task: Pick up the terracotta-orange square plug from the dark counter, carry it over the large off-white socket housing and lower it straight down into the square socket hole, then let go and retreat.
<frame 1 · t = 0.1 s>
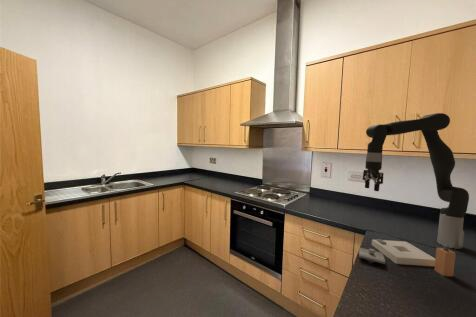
hand: (371, 189, 114), 29 cm above the countertop, fingers open, 8 cm apart
light switch: (370, 260, 94), on the countertop
socket: (401, 254, 100), on the countertop
plug: (443, 273, 86), on the countertop
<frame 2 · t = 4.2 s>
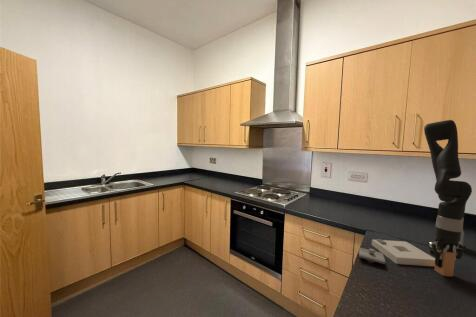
hand: (444, 266, 86), 3 cm above the countertop, fingers closed on plug, 4 cm apart
plug: (443, 273, 86), on the countertop, touching gripper
everything else where it was.
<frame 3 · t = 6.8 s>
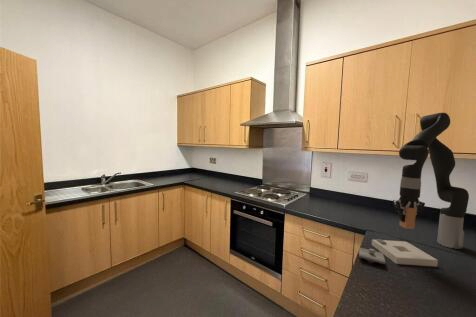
hand: (406, 221, 98), 17 cm above the countertop, fingers closed on plug, 4 cm apart
plug: (406, 227, 98), point 14 cm above the countertop, touching gripper
everything else where it was.
when the fingers open (4 cm above the countertop, at t = 9.8 s): plug stays where it is, resting in socket.
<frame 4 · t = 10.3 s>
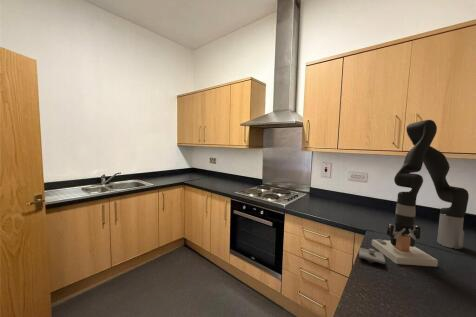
hand: (402, 245, 100), 5 cm above the countertop, fingers open, 8 cm apart
plug: (401, 254, 100), resting in socket
everything else where it was.
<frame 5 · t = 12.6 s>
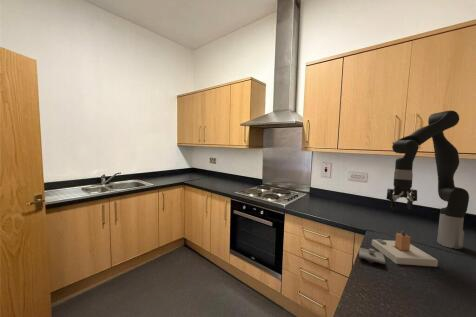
hand: (401, 208, 107), 21 cm above the countertop, fingers open, 8 cm apart
nothing on the countertop moved.
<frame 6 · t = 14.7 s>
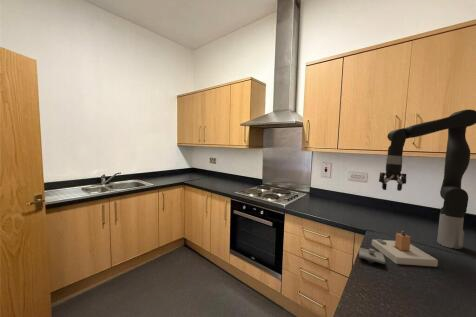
hand: (391, 190, 121), 28 cm above the countertop, fingers open, 8 cm apart
nothing on the countertop moved.
at the end: plug 0.0 cm off-centre on the socket, point 0.0 cm above the socket's base; plug tilted 0°; the gripper is holding nothing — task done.
